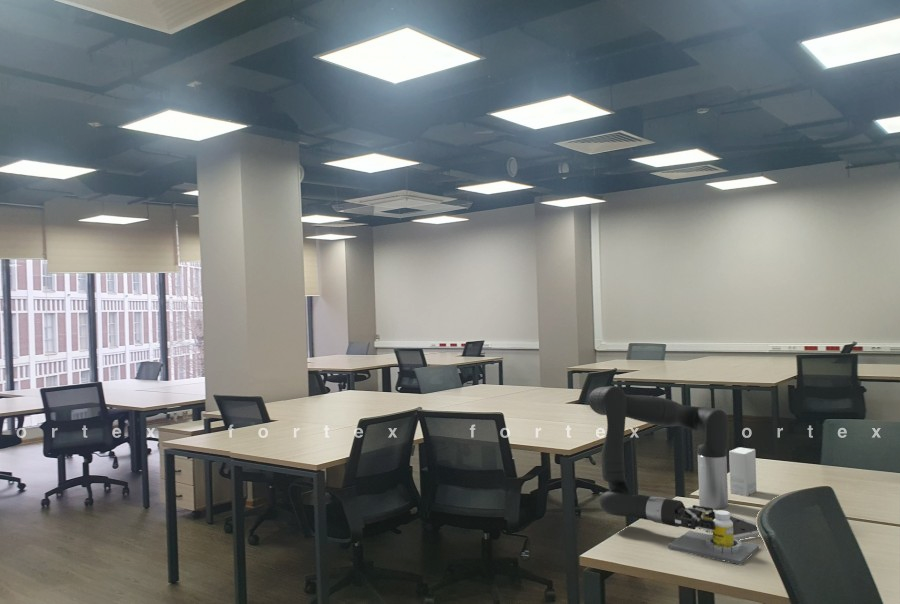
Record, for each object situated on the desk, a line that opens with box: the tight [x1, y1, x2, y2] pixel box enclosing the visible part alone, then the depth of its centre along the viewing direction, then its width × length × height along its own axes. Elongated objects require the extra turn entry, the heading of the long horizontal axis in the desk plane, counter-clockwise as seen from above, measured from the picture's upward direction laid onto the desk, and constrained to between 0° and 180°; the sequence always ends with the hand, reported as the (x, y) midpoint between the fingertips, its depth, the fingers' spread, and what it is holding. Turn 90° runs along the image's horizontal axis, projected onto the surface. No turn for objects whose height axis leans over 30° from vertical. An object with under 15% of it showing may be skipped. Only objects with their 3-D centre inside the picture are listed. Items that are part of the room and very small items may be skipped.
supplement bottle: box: [712, 509, 734, 547], centre depth 185 cm, size 5×5×10 cm
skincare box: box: [728, 446, 757, 497], centre depth 240 cm, size 8×7×16 cm
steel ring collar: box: [706, 537, 742, 553], centre depth 185 cm, size 9×9×2 cm
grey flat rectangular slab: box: [667, 530, 760, 565], centre depth 187 cm, size 15×20×1 cm
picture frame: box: [699, 513, 760, 540], centre depth 204 cm, size 16×3×21 cm
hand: (720, 521), depth 186 cm, fingers open, 8 cm apart
